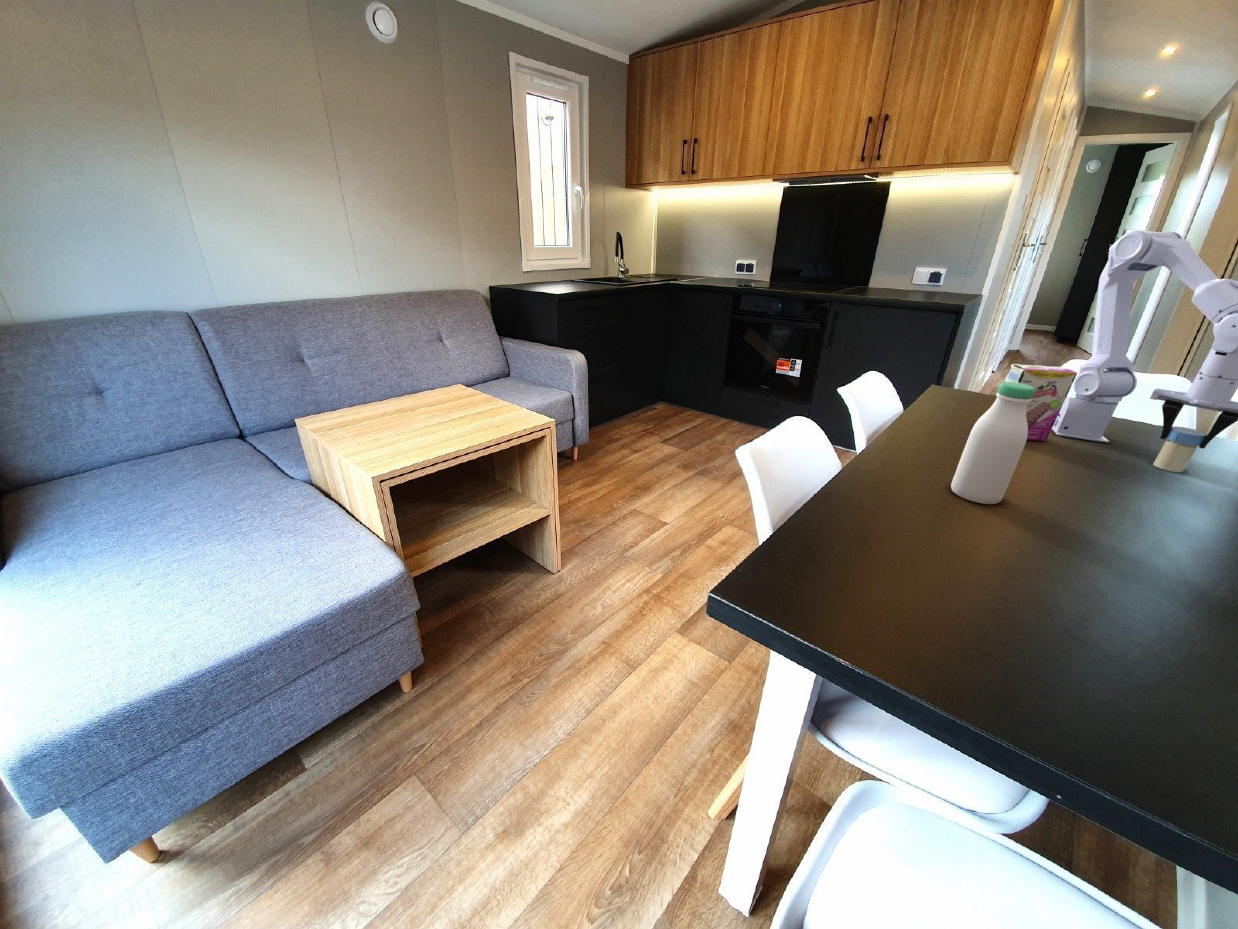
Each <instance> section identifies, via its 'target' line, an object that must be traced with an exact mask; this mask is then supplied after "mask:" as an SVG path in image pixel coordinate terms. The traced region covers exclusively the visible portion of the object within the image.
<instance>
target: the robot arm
mask: <svg viewBox="0 0 1238 929" xmlns="http://www.w3.org/2000/svg"><path fill="white" fill-rule="evenodd" d="M1107 257H1108V260H1107V262H1106V264H1105V266H1104V268H1103V270H1102V272H1101V274H1100V275H1099V280H1098V289H1097V298H1096V310H1095V318H1094V328H1093V329H1094V330H1093V339H1092V350H1091V357H1090V358H1089V359H1088V360H1086V361H1084V362H1083V363H1082V364H1080V366H1079V372H1078V373H1077V375H1076V377H1075V379H1074V382H1073V390H1074V392H1075V394H1074V395H1067V397H1066V399H1065V401H1064V403H1063V405H1062V407H1061V409H1060V412H1059V414H1058V416H1057V418H1056V420H1055V423H1054V425H1053V427H1052V429H1051V431H1053V432H1054V433H1055V434H1056V435H1057V436H1060V437H1066V438H1072V439H1080V440H1087V441H1094V442H1100V443H1106V444H1107V443H1109V442H1110V440H1109V439H1108V438H1107V437H1105V436H1104V433H1105V431H1106V430H1107V427H1108V425H1109V423H1110V421H1111V419H1112V417H1113V416H1114V413H1115V411H1116V409H1117V406H1118V405H1119V403H1120V402H1122V400H1123V398H1124V397H1127V396H1129V395H1130V394H1132V393H1133V392H1134V391H1135V389H1136V387H1137V385H1138V379H1137V376H1136V375H1135V373H1134V372H1135V371H1134V366H1135V365H1134V363H1133V362H1132V361H1131V359H1130V358H1129V357H1128V356H1127V347H1128V338H1129V329H1130V319H1131V311H1132V301H1133V300H1132V299H1133V294H1134V293H1133V292H1134V291H1133V290H1134V284H1135V282H1136V281H1138V280H1139V279H1140V278H1142V277H1143V276H1144V275H1146V274H1148V273H1150V272H1152V271H1154V270H1156V269H1158V268H1159V267H1165V268H1166V269H1167V270H1168V271H1169V272H1171V273H1172V274H1173V275H1174V276H1175V277H1177V278H1178V279H1179V280H1180V281H1181V282H1183V284H1185V285H1186V286H1187V287H1189V289H1190V290H1191V291H1192V292H1194V293H1193V294H1192V297H1191V303H1192V304H1193V305H1194V306H1195V307H1196V308H1197V309H1198V310H1199V311H1200V312H1201V313H1202V314H1203V315H1204V316H1205V317H1206V318H1207V319H1208V320H1209V321H1210V323H1212V325H1213V328H1212V334H1213V337H1214V340H1213V343H1212V344H1211V348H1210V350H1209V352H1208V354H1207V356H1206V358H1205V359H1204V361H1203V363H1202V365H1201V367H1200V369H1199V370H1198V372H1197V374H1196V376H1195V377H1194V379H1193V381H1192V383H1191V385H1190V387H1189V388H1188V389H1187V391H1186V392H1183V391H1176V390H1170V389H1162V388H1158V387H1157V388H1155V389H1154V390H1153V391H1152V393H1151V395H1150V397H1149V399H1150V400H1154V401H1158V400H1159V401H1163V403H1162V407H1161V409H1162V417H1163V418H1162V420H1163V421H1162V422H1163V423H1162V431H1161V434H1160V437H1159V439H1161V440H1163V441H1164V440H1165V441H1166V440H1167V439H1166V436H1167V434H1168V432H1169V430H1170V428H1171V427H1174V423H1175V422H1176V420H1177V417H1178V416H1179V414H1180V412H1182V409H1183V408H1184V407H1185V406H1188V407H1194V408H1199V409H1204V410H1210V411H1214V412H1220V413H1219V414H1218V416H1217V417H1216V420H1215V422H1214V424H1213V425H1212V427H1210V428H1211V429H1210V430H1209V432H1208V433H1207V436H1206V438H1205V439H1204V440H1203V442H1202V443H1201V444H1200V446H1198V448H1199V449H1206V447H1207V445H1208V444H1209V443H1210V442H1211V441H1212V440H1213V439H1214V438H1215V437H1217V436H1218V435H1219V434H1221V432H1223V431H1224V430H1226V429H1228V428H1229V427H1230V426H1232V425H1234V424H1235V423H1236V422H1238V401H1234V400H1232V399H1233V397H1234V395H1235V394H1236V392H1237V390H1238V280H1235V279H1233V278H1221V279H1220V278H1218V276H1216V274H1215V273H1214V272H1213V271H1212V270H1211V268H1210V267H1209V266H1208V265H1207V264H1206V263H1205V262H1204V261H1203V259H1202V258H1201V257H1200V256H1199V255H1198V253H1196V251H1194V249H1193V248H1192V247H1191V242H1190V241H1189V240H1187V239H1185V238H1183V236H1182V235H1181V234H1180V233H1179V232H1176V231H1163V232H1162V231H1145V230H1140V229H1137V230H1131V231H1128V232H1127V233H1125V234H1123V235H1122V236H1120V238H1119V239H1118V240H1116V241H1115V242H1114V243H1113V244H1112V245H1110V247H1109V250H1108V256H1107Z"/></svg>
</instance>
